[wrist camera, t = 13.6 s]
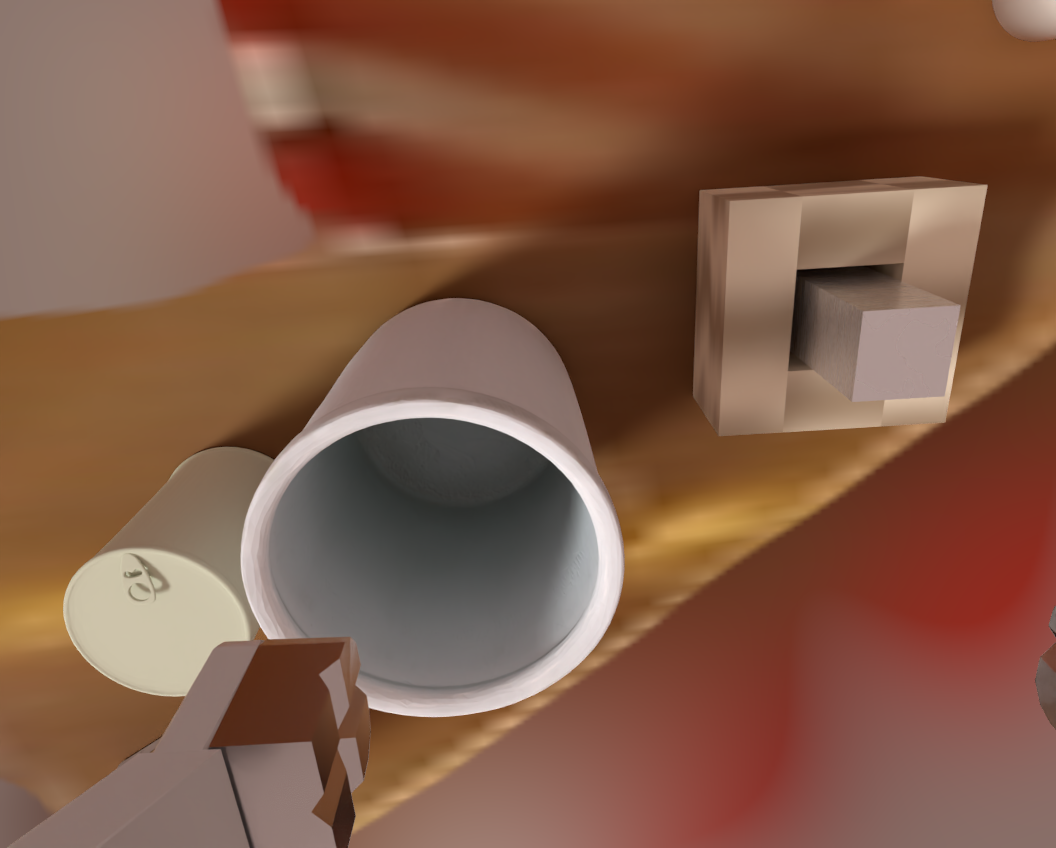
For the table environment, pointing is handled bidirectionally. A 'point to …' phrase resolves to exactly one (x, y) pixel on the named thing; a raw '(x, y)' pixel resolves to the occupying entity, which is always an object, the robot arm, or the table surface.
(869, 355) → the square bar
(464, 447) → the utensil holder
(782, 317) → the socket block
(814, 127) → the table surface
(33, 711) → the table surface
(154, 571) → the can
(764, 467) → the table surface
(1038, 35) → the white rounded block
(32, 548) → the table surface
